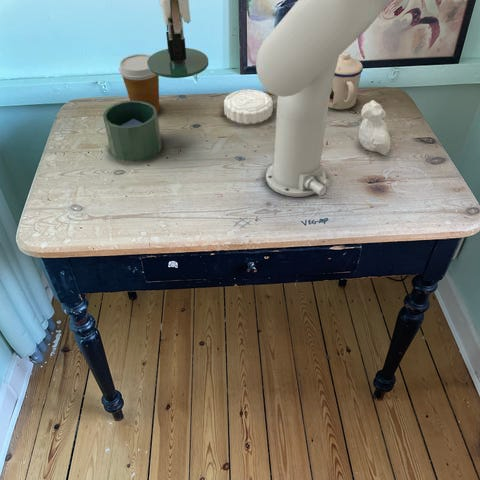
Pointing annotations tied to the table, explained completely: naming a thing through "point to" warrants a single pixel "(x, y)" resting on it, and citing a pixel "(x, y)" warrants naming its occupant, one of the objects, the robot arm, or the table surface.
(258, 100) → the mooncake
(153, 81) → the disposable coffee cup
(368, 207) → the table surface
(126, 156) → the crock
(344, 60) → the teacup with lid
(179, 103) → the table surface
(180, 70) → the crock lid
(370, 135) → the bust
